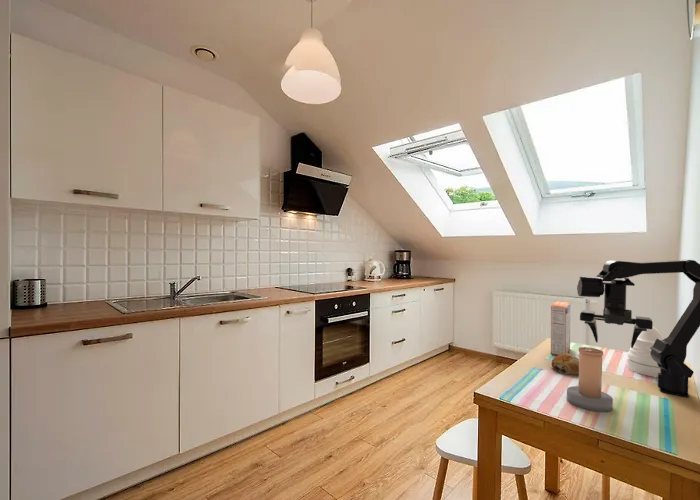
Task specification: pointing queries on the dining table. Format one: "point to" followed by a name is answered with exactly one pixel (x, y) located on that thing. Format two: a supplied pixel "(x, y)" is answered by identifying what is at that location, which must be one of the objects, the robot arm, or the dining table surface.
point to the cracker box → (560, 327)
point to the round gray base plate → (590, 401)
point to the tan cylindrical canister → (590, 372)
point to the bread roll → (566, 364)
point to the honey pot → (644, 353)
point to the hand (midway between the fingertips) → (613, 345)
